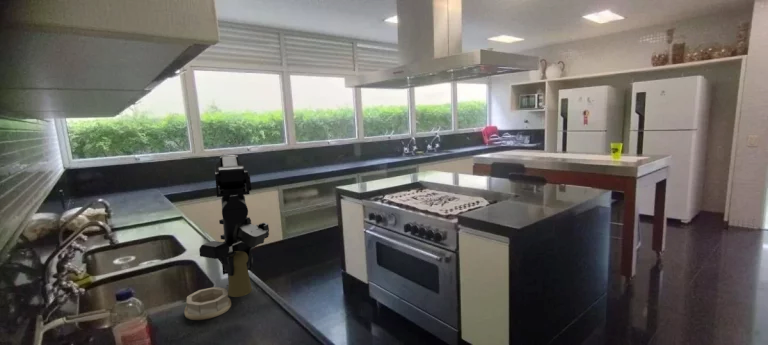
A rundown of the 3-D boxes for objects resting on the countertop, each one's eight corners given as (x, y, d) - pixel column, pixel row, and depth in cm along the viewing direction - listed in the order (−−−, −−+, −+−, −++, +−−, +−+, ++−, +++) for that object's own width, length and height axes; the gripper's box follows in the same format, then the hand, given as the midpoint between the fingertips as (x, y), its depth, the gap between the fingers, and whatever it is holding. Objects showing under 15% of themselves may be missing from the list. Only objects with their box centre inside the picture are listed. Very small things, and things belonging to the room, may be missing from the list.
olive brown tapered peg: (255, 286, 100) (252, 248, 99) (247, 296, 94) (244, 256, 93) (233, 286, 100) (230, 248, 99) (224, 297, 94) (220, 256, 93)
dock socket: (185, 305, 106) (183, 292, 105) (229, 295, 111) (228, 283, 111) (184, 324, 95) (182, 310, 95) (233, 312, 101) (232, 299, 100)
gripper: (230, 227, 83) (235, 291, 85) (282, 209, 100) (285, 263, 102) (195, 223, 87) (200, 284, 89) (250, 206, 104) (254, 258, 106)
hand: (238, 272), depth 97 cm, fingers closed on olive brown tapered peg, 5 cm apart
